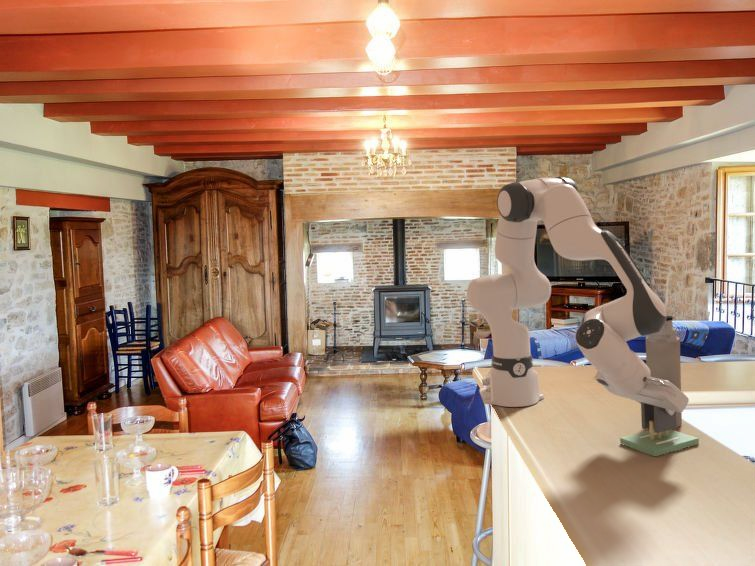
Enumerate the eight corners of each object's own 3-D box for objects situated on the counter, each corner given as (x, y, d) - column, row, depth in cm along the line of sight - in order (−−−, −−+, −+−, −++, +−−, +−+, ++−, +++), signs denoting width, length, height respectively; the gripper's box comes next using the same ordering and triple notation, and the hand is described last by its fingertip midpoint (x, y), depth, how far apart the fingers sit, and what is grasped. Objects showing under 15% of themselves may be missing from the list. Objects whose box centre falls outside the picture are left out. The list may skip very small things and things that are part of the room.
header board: (655, 457, 135) (654, 430, 134) (620, 443, 144) (619, 419, 143) (698, 444, 140) (698, 419, 140) (662, 432, 149) (661, 408, 149)
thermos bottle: (646, 417, 161) (643, 313, 159) (679, 418, 159) (676, 313, 156) (649, 427, 154) (646, 318, 151) (684, 428, 151) (681, 318, 149)
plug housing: (657, 433, 138) (656, 397, 138) (641, 427, 142) (640, 393, 142) (676, 428, 141) (675, 393, 140) (660, 423, 145) (659, 389, 144)
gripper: (674, 371, 128) (707, 408, 133) (602, 356, 147) (632, 389, 151) (660, 395, 126) (693, 432, 131) (588, 377, 145) (620, 410, 150)
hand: (660, 409), depth 141 cm, fingers closed on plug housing, 4 cm apart
